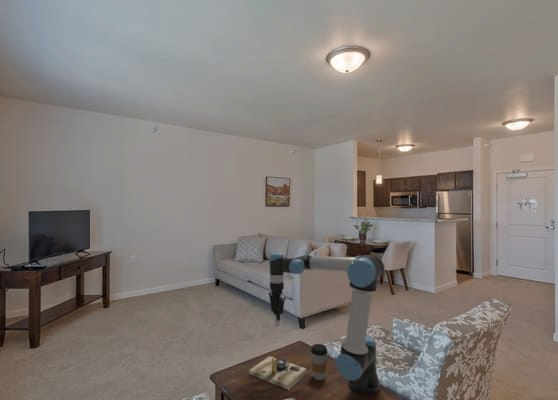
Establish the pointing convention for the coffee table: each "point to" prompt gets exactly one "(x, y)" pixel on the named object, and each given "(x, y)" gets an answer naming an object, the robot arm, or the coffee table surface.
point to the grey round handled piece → (278, 365)
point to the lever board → (278, 373)
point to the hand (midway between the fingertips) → (276, 325)
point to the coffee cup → (319, 361)
